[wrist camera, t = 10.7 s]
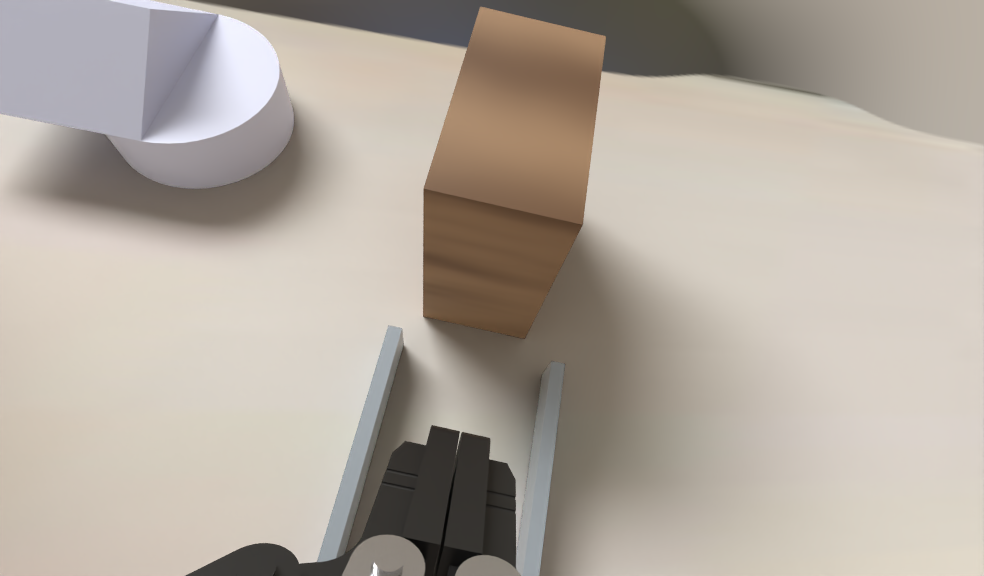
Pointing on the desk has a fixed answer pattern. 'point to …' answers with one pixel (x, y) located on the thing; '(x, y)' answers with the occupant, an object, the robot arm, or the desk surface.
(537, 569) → the grey open-top box
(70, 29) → the wedge on round base
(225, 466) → the desk surface
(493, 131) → the walnut block
